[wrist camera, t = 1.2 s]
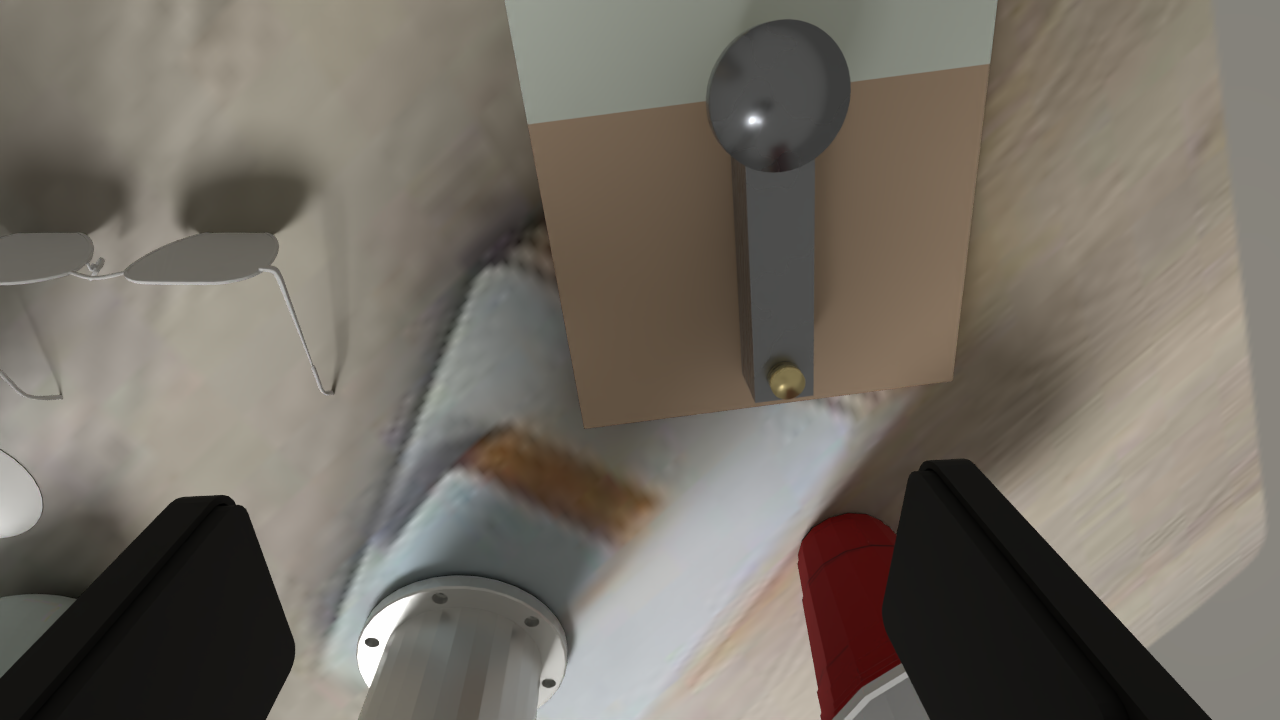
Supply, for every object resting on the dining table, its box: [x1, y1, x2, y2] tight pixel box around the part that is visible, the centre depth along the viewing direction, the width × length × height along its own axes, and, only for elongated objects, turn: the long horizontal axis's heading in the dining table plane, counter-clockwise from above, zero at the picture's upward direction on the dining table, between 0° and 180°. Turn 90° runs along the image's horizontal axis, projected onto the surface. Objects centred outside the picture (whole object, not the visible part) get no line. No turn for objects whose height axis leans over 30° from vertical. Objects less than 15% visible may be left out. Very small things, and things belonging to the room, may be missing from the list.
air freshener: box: [0, 594, 77, 678], centre depth 33 cm, size 11×8×10 cm
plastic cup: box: [798, 513, 930, 720], centre depth 32 cm, size 11×11×12 cm
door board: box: [505, 0, 998, 429], centre depth 24 cm, size 28×18×5 cm, turn 7°
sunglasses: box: [0, 232, 334, 400], centre depth 28 cm, size 14×8×5 cm, turn 89°
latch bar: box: [706, 19, 851, 403], centre depth 24 cm, size 14×5×4 cm, turn 7°
